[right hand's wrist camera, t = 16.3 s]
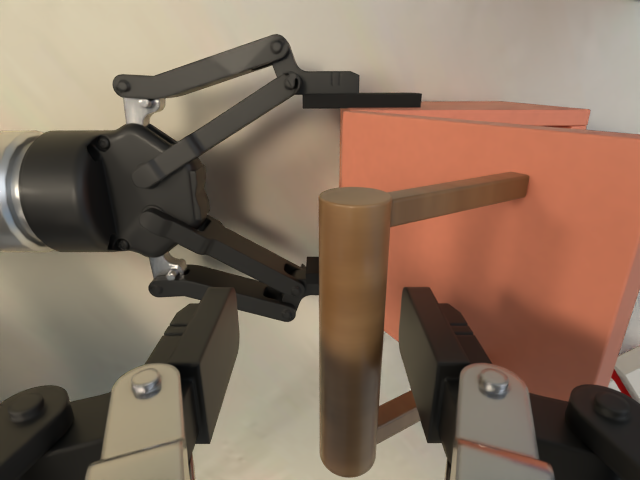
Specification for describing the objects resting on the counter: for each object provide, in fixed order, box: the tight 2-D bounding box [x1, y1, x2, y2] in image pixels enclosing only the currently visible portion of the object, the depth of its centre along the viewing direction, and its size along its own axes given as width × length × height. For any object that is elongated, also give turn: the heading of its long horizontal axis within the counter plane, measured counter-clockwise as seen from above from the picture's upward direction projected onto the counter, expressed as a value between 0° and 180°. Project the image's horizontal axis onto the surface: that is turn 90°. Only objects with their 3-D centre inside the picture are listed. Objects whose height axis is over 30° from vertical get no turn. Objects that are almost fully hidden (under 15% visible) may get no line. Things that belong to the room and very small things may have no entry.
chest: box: [339, 101, 590, 188], centre depth 27 cm, size 12×10×11 cm
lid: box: [319, 111, 640, 477], centre depth 15 cm, size 13×10×8 cm
